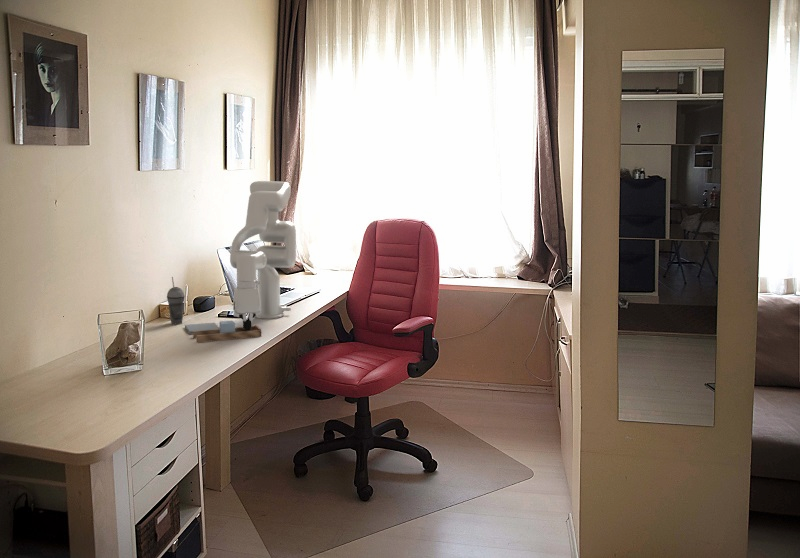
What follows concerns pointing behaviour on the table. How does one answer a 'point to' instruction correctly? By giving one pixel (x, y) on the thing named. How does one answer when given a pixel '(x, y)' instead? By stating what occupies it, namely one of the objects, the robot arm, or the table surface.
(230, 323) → the block
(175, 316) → the beverage cup
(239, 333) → the channel
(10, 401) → the table surface
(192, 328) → the pad
